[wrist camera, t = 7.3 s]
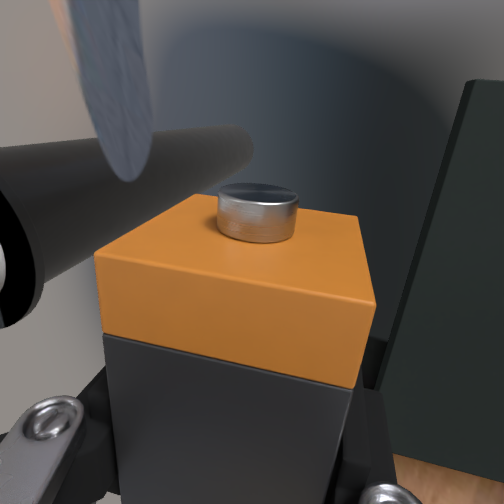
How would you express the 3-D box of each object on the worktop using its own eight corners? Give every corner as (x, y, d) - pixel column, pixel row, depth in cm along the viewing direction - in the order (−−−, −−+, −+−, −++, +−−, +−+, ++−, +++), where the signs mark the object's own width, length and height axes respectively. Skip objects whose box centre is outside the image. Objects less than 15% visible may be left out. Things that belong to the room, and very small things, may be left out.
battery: (191, 442, 13) (129, 583, 9) (195, 163, 9) (85, 203, 5) (302, 473, 13) (287, 640, 9) (364, 184, 8) (392, 250, 4)
